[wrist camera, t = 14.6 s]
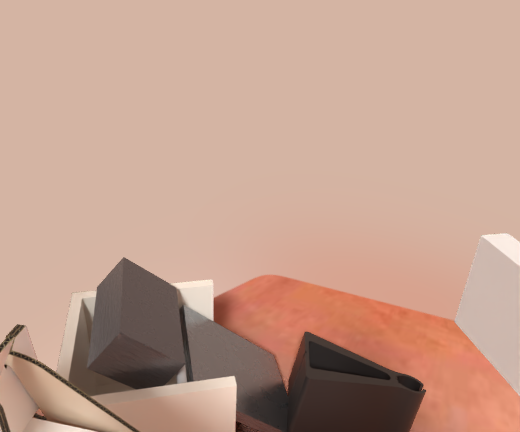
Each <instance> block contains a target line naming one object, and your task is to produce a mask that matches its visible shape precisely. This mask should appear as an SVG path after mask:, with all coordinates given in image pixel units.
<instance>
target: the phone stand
mask: <svg viewBox="0 0 520 432" xmlns="http://www.w3.org/2000/svg"><path fill="white" fill-rule="evenodd" d="M422 388H423V384H422V383H421V382H420V381H419V380H417V379H415V378H414V377H411V376H409V375H406V374H401V373H397V372H394V371H392V370H389V369H387V368H385V367H383V366H380V365H378V364H376V363H374V362H372V361H370V360H368V359H365V358H363V357H361V356H359V355H357V354H355V353H352V352H350V351H348V350H346V349H344V348H342V347H339V346H337V345H335V344H333V343H331V342H329V341H327V340H324V339H322V338H320V337H318V336H316V335H314V334H311V333H309V332H305V333H304V336H303V339H302V342H301V345H300V348H299V351H298V354H297V357H296V360H295V363H294V366H293V369H292V372H291V375H290V378H289V385H288V414H287V432H409V431H410V429H411V426H412V424H413V421H414V419H415V416H416V414H417V412H418V409H419V407H420V404H421V402H422V399H423V397H424V395H425V392H426V390H424V389H423V390H422ZM421 390H422V391H421Z"/></svg>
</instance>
